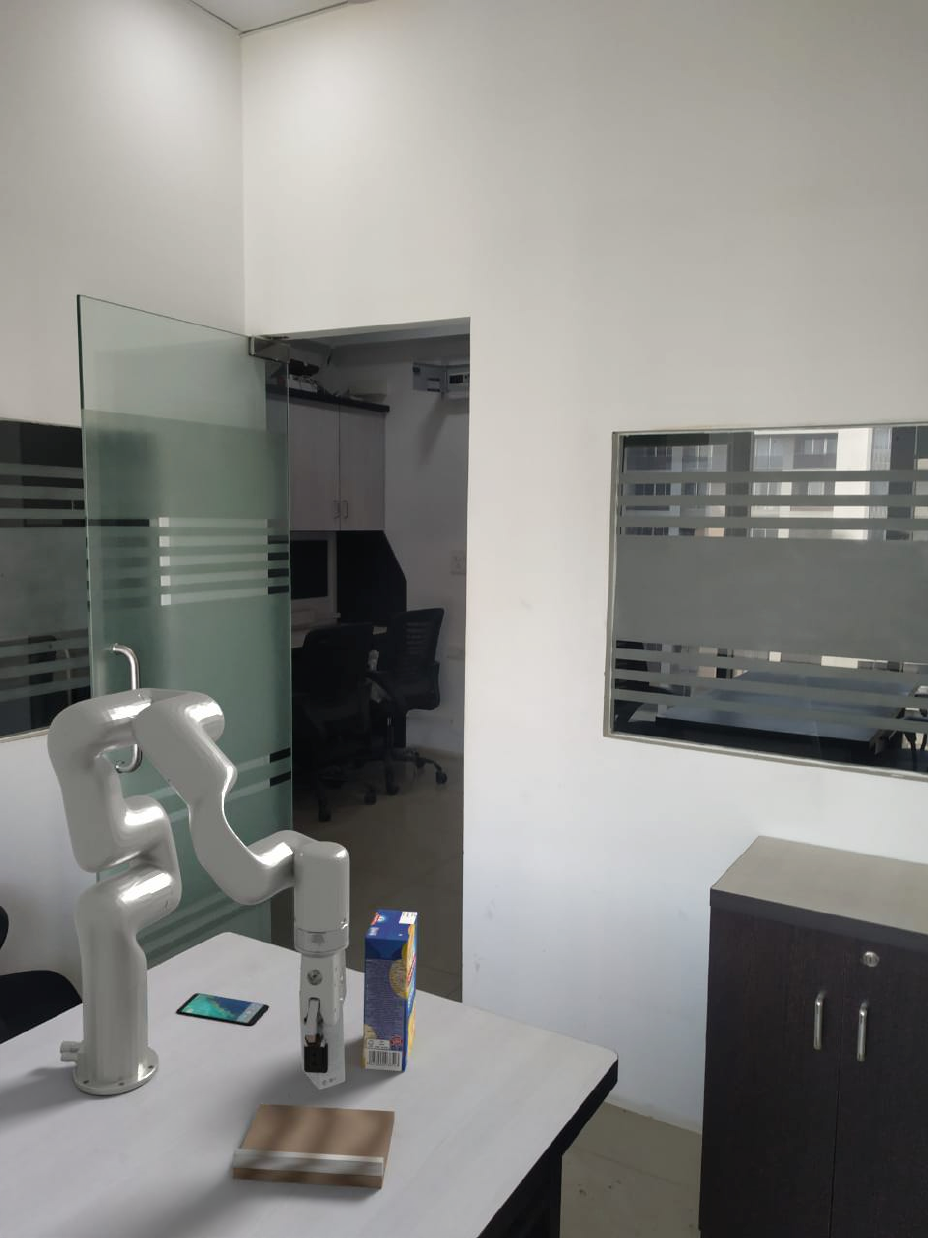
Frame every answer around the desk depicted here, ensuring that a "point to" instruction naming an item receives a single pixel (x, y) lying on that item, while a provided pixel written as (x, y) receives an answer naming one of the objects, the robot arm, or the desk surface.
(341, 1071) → the skincare box
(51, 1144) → the desk surface
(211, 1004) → the smartphone
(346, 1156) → the shelf board
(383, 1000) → the beverage box
